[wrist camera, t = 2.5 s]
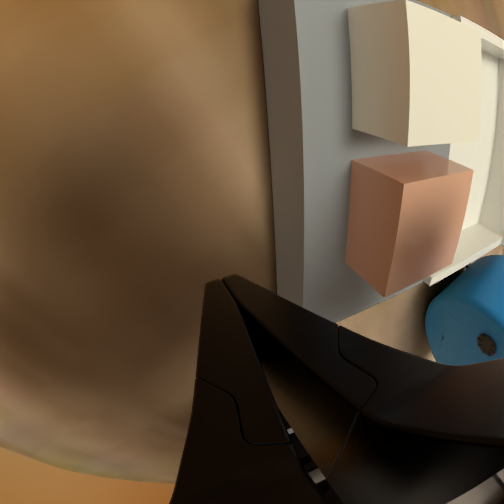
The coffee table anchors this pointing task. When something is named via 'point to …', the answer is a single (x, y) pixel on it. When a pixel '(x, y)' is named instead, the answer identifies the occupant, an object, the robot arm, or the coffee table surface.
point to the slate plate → (316, 152)
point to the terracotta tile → (404, 217)
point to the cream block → (414, 74)
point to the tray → (482, 163)
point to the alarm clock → (469, 315)
